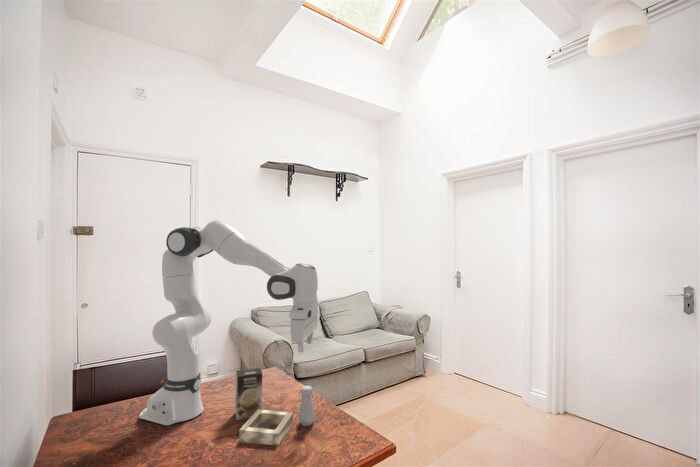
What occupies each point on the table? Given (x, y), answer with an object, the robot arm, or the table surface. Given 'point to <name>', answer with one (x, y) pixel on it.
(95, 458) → the table surface
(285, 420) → the socket block
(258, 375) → the coffee box
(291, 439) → the table surface
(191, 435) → the table surface
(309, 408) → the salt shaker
